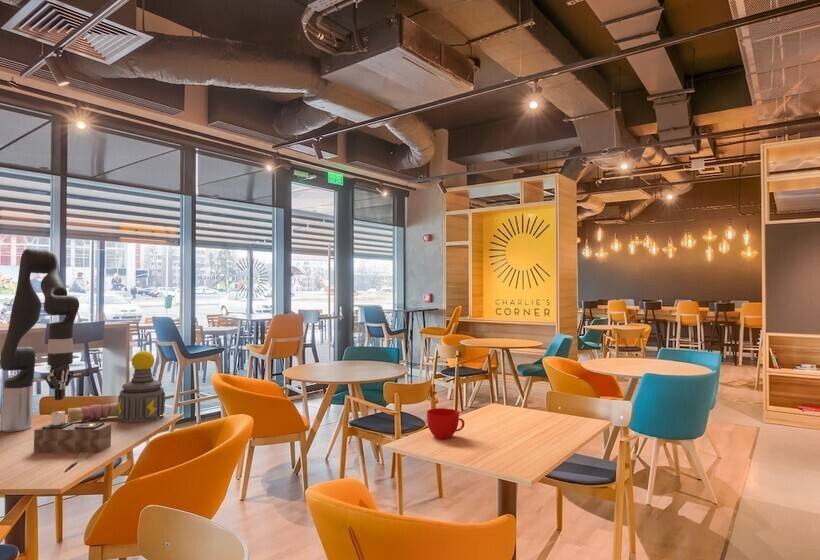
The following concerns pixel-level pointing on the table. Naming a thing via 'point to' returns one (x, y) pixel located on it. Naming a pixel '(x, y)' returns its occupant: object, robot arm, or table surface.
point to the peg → (58, 419)
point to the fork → (76, 462)
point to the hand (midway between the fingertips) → (59, 399)
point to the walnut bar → (72, 438)
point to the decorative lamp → (141, 393)
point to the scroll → (92, 412)
